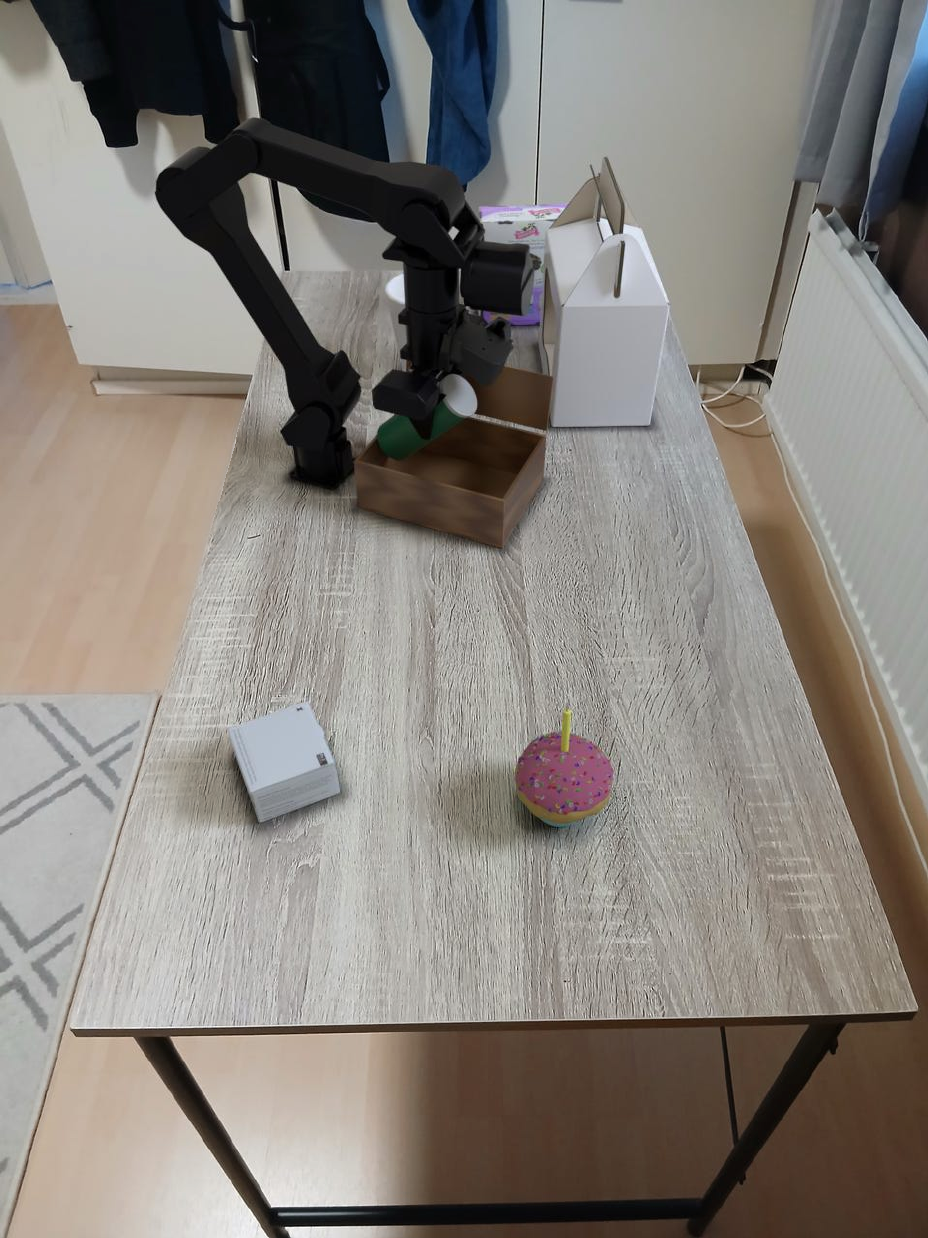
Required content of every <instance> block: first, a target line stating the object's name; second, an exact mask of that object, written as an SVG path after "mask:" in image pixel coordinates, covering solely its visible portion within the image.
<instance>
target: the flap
mask: <svg viewBox="0 0 928 1238" xmlns="http://www.w3.org/2000/svg"><path fill="white" fill-rule="evenodd" d="M411 365H412V363H411V361H408V360H406V372H409V369H408V368H409V367H410V366H411ZM409 373H412V372H409ZM461 377H462V378H464V379H465V380H466V381H467V382H468V383H469V384H470V385H471V387H472V388H473V390H474V392H475V395H476V398H477V409H476V411H475V413H474V414H475V415H478V416H483V417H486V418H491V419H494V420H499V421H503V422H508V423H511V424H515V425H520V426H523V427H528V428H531V429H532V428H533V429H536V430H541V431H544V432H546V431H548V425H549V418H550V412H549V411H550V403H551V396H552V388H553V380H554V376H551V375H546V374H543V372H542V373H541V372H536V371H532V370H528V369H523V368H519V367H515V366H509V365H506V364H505V365H504V367H503V369H502V371H501V373H500V374H499V375H498V376H497V377H496V379H495V380H494V382H493V383H492V384H491V385H490V386H483V385H481V384H479V383H477V381H476V380H475V379H473V378H472V377H470V376H468V375H467V374H465V373H462V374H461ZM474 414H473V415H474Z"/></svg>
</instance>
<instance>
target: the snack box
mask: <svg viewBox="0 0 928 1238" xmlns="http://www.w3.org/2000/svg"><path fill="white" fill-rule="evenodd" d="M394 415H395V414H393V415H392V416H394ZM547 436H548V435H546V434H543V433H539V432H534V431H530V430H526V429H522V428H518V427H514V426H509V425H506V424H501V423H497V422H494V421H489V420H485V419H481V418H477V417H473V416H469V417H467V418H466V419H464V420H463V421H461V422H460V423H458V424H457V425H455V426H454V427H452V428H451V429H449V430H448V431H446V432H445V433H444V434H442V435H441V436H439V437H438V438H436V439H435V440H433V441H432V442H430V443H429V444H427V445H426V446H424V447H423V448H421V449H420V450H418V451H417V452H415V453H414V454H412V455H411V456H409V457H408V458H406V459H405V460H402V461H397V460H393V459H391V458H390V457H388V456H387V455H386V454H385V453H384V452H383V451H382V449H381V448H380V446H379V443H378V440H377V434H375V436H374V437H373V438H372V440H370V442H369V443H368V444H367V446H365V448H364V449H363V450H361V452H360V453H359V455H358V456H357V457H355V458H356V459H355V461H354V467H353V469H354V477H355V487H356V495H357V496H356V497H357V504H358V505H357V506H358V509H360V510H365V511H368V512H372V513H375V514H378V515H383V516H385V517H389V518H393V519H397V520H400V521H403V522H408V523H411V524H415V525H417V526H421V527H425V528H428V529H432V530H436V531H439V532H442V533H446V534H450V535H453V536H457V537H460V538H464V539H468V540H472V541H475V542H477V543H481V544H485V545H487V546H488V545H489V546H492V547H496V548H499V549H503V548H504V547H505V544H506V543H507V542H508V540H509V538H510V537H511V535H512V533H513V532H514V530H515V529H516V527H517V526H518V524H519V522H520V521H521V519H522V517H523V516H524V514H525V512H526V510H527V509H528V507H529V505H530V504H531V502H532V501H533V499H534V497H535V496H536V494H537V492H538V490H539V489H540V487H541V486H542V484H543V482H544V476H545V474H544V473H545V461H546V448H547Z"/></svg>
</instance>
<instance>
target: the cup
mask: <svg viewBox="0 0 928 1238" xmlns="http://www.w3.org/2000/svg"><path fill="white" fill-rule="evenodd" d="M384 297H385V302H386V305H387V308H388V311H389V315H390V320H391V326H392V329H393V333H394V338H395V343H396V348H397V352H398V356H399V361H400V365H401V371H404V372H406V360H404V359H400V350H401V349H402V348H403V346H404V345H405V344H406V343H407V336H406V325H402V324H398V314H399V313H400V312H401V311H402V310H403V309H404V308H405V294H404V273H400V274H398V275H397V276H394V277H392V278H391V279H390V280H389V281H388V282H387V283H386V284H385V286H384Z"/></svg>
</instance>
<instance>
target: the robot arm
mask: <svg viewBox="0 0 928 1238" xmlns="http://www.w3.org/2000/svg"><path fill="white" fill-rule="evenodd" d="M249 174H255V175H258V176H261V177H263V178H267V179H269V180H272V181H275V182H278V183H281V184H284V185H287V186H290V187H292V188H295V189H298V190H301V191H304V192H307V193H310V194H313V195H316V196H318V197H321V198H324V199H327V200H329V201H332V202H335V203H338V204H341V205H345V206H347V207H350V208H352V209H355V210H358V211H360V212H362V213H364V214H366V215H367V216H369V217H371V218H372V219H373V221H375V223H376V224H377V225H378V226H380V228H381V229H382V230H383V231H385V232H386V233H388V234H390V235H392V236H394V238H393V239H392V240H391V241H390V242H389V244H388V245H387V247H386V248H385V249H384V250H383V251H382V253H381V257H382V258H383V260H387V261H393V262H401V263H402V269H403V271H402V272H403V273H404V294H405V308H404V309H403V310H402V311H401V312H400V313H399V314H398V324H402V325H406V336H407V343H406V344H405V345H404V346H403V348H402V349H401V350H400V357H399V360H400V359H404V360H408V361H411V363H412V365H411V366H410V367H409V368H408V369H409V372H412V373H409V372H404V371H402V370H399V369H395V368H392V369H391V370H390V371H389V372H387V373H386V374H384V376H383V378H381V379H380V381H379V382H377V384H376V385H375V386H374V387H373V388H372V389H371V400H372V406H373V408H374V409H375V410H377V411H380V412H385V413H389V414H393V415H394V414H397V415H401V416H405V417H408V419H409V420H410V422H411V424H412V425H413V427H414V428H415V430H416V431H417V433H418V435H419V436H420V438H421V439H424V440H430V438H431V434H432V428H433V419H434V411H435V409H436V408H437V407H438V406H439V404H440V403H441V402H442V401H443V399H444V398H445V397H446V396H447V395H446V394H442V393H439V387H438V385H439V382H440V381H441V380H443V378H445V377H446V376H447V375H450V374H456V375H459V376H461V374H462V373H465V374H467V375H468V376H470V377H472V378H473V379H475V380H476V381H477V383H479V384H481V385H483V386H490V385H491V384H492V383H493V382H494V380H495V379H496V377H497V376H498V375H499V374H500V373H501V371H502V369H503V367H504V365H506V363H507V361H508V358H509V356H510V354H511V353H512V352H513V350H514V344H513V343H514V340H513V338H512V328H511V326H510V322H509V321H507V320H506V319H504V318H502V317H500V316H499V317H497V318H496V319H494V320H493V321H491V322H490V323H489V324H488V322H487V321H486V320H485V319H484V317H483V316H479V315H478V314H474V313H470V311H469V309H470V310H474V311H478V310H480V311H487V312H495V313H502V314H509V315H516V316H525V315H526V314H527V312H528V309H529V306H530V302H531V297H532V292H533V284H534V273H535V269H533V263H532V258H531V257H530V246H529V245H528V244H520V243H515V244H504V243H496V242H488V241H481V239H482V237H483V236H484V234H485V229H484V227H483V226H482V224H481V223H480V221H479V217H478V216H477V215H476V213H475V212H474V211H473V209H472V208H471V206H470V205H469V203H468V202H467V200H466V196H465V195H466V194H465V191H464V186H463V185H462V184H461V182H460V180H459V177H458V174H456V173H455V172H453V171H452V170H450V169H449V168H447V167H445V166H441V165H437V164H430V163H423V162H417V161H393V162H385V161H379V160H374V159H372V158H369V157H366V156H363V155H360V154H357V153H354V152H351V151H348V150H346V149H342V148H341V147H337V146H335V145H331V144H328V143H325V142H323V141H320V140H317V139H313V138H310V137H308V136H305V135H302V134H300V133H297V132H293V131H290V130H288V129H285V128H282V127H279V126H276V125H274V124H272V123H271V121H268V120H267V119H265V118H262V117H254V116H253V117H250V118H246V120H244V121H243V122H241V123H240V124H239V125H238V126H236V127H235V128H234V129H233V130H232V131H230V133H228V134H227V136H226V138H224V139H223V140H222V141H220V142H219V143H217V144H216V145H215V146H214V147H212V148H210V147H208V146H196V147H192V148H190V149H189V150H188V151H187V152H185V153H184V154H183V155H181V156H180V157H178V158H177V159H176V160H174V161H173V162H171V163H170V164H169V165H168V166H166V167H165V168H164V169H163V170H161V172H159V173H158V175H157V178H156V180H155V190H154V197H155V200H156V202H157V204H158V206H159V208H160V210H161V211H162V212H163V213H164V215H165V216H166V217H167V218H168V220H169V221H170V222H171V223H172V224H173V225H174V227H175V228H176V229H177V231H178V232H180V234H181V235H182V236H183V237H184V238H185V239H186V240H188V241H190V242H191V243H193V244H195V245H196V246H198V247H199V248H201V249H203V250H204V251H206V252H208V253H209V255H210V256H211V257H212V258H213V260H214V262H215V263H216V264H217V266H218V267H219V269H220V272H222V274H223V276H224V277H225V279H226V280H227V282H228V283H229V285H230V286H231V289H232V290H233V291H234V293H235V294H236V295H237V298H238V299H239V300H240V302H241V303H242V305H243V307H244V308H245V310H246V311H247V313H248V315H249V316H250V318H251V319H252V321H253V323H254V324H255V326H256V327H257V329H258V330H259V332H260V333H261V335H262V336H263V338H264V339H265V341H266V343H267V344H268V346H269V348H270V349H271V350H272V352H273V354H274V355H275V357H276V358H277V360H278V361H279V363H280V365H281V367H282V368H283V371H284V376H285V377H284V378H285V381H286V382H285V383H286V389H287V390H286V391H287V396H288V399H289V401H290V404H291V406H292V408H293V413H292V414H291V415H290V416H289V418H288V419H287V421H286V422H285V423H284V425H283V426H282V427H281V429H280V430H279V433H280V435H281V436H282V439H283V440H284V442H285V444H286V446H288V447H292V452H293V461H294V464H295V466H294V467H293V468H292V470H290V472H289V473H288V475H289V476H288V477H289V479H291V480H295V481H299V482H302V483H306V484H309V485H313V486H317V487H320V488H324V489H327V490H335V489H336V488H337V487H338V486H339V484H340V483H341V482H342V481H343V480H344V479H345V478H346V477H347V475H348V474H349V473H350V472H351V471H352V470H353V469H354V461H355V459H356V458H357V457H353V451H352V450H353V449H352V442H351V440H350V439H348V431H347V427H346V426H344V425H345V423H346V422H347V420H348V419H349V417H350V415H351V414H352V412H353V411H354V410H355V408H356V407H357V405H358V403H359V402H360V399H361V395H362V386H361V383H360V380H361V378H362V375H361V374H360V373H359V372H358V371H356V369H355V368H354V367H353V366H352V363H351V361H350V358H349V356H348V354H347V353H346V352H345V350H344V349H340V350H339V351H337V352H335V353H334V352H332V351H330V350H329V349H327V348H325V347H324V346H322V345H321V344H320V343H319V342H318V340H317V338H316V337H315V335H314V333H313V332H312V330H311V328H310V327H309V325H308V324H307V322H306V320H305V318H304V317H303V315H302V314H301V312H300V310H299V309H298V307H297V305H296V304H295V302H294V300H293V299H292V297H291V296H290V294H289V292H288V291H287V290H288V289H286V287H285V286H284V283H283V282H282V280H281V279H280V277H279V275H278V274H277V272H276V271H275V269H274V268H273V266H272V264H271V263H270V260H269V259H268V258H267V255H266V254H265V252H264V250H263V249H262V248H261V246H260V244H259V243H258V241H257V239H256V238H255V235H254V234H253V232H252V231H251V228H250V226H249V225H250V224H249V220H248V213H247V206H246V200H245V195H244V193H243V191H242V188H241V186H240V183H239V182H240V181H241V180H242V179H244V178H245V177H247V176H248V175H249ZM453 228H455V229H456V230H457V231H458V232H457V233H456V235H455V236H454V238H452V237H451V235H450V234H449V233H451V231H452V229H453ZM403 273H402V274H403ZM460 296H461V298H462V301H463V303H460ZM467 308H469V309H467Z"/></svg>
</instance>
